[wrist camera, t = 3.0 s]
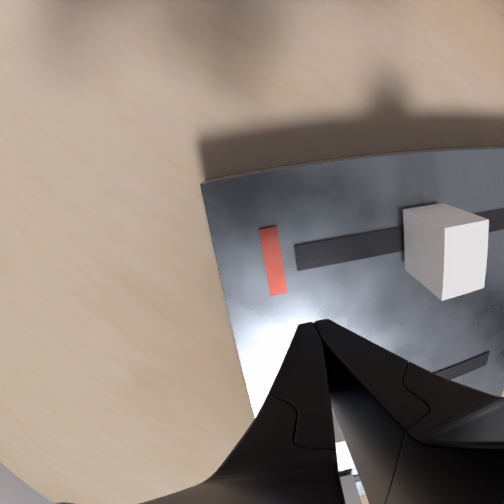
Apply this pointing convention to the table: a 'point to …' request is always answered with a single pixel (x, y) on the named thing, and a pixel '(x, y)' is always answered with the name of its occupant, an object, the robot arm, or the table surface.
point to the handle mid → (341, 448)
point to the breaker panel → (357, 261)
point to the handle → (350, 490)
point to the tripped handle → (446, 249)
